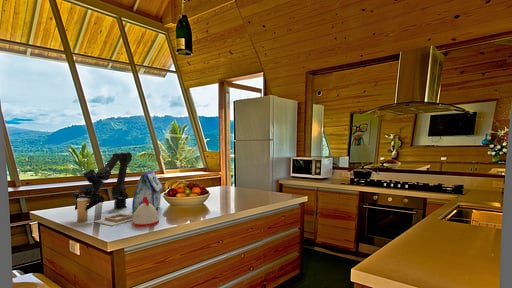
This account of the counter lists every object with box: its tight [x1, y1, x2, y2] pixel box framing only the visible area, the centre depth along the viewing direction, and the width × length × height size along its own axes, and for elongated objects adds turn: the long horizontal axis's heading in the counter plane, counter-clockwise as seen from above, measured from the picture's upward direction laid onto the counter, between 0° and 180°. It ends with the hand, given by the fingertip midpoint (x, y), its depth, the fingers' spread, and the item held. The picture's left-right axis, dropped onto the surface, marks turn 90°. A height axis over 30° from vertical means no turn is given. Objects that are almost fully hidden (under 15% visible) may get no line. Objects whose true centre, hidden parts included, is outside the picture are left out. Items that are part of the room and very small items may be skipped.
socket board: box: [94, 213, 133, 227], centre depth 168 cm, size 20×16×2 cm
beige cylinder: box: [76, 198, 89, 223], centre depth 167 cm, size 6×6×13 cm
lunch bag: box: [131, 170, 164, 215], centre depth 192 cm, size 22×17×26 cm
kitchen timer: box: [132, 197, 160, 228], centre depth 162 cm, size 14×14×15 cm
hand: (80, 210), depth 165 cm, fingers open, 7 cm apart
